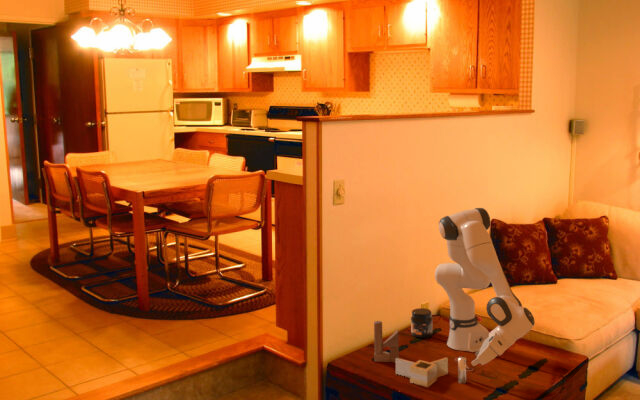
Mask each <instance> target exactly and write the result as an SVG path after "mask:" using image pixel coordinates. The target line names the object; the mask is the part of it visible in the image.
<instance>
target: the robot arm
mask: <svg viewBox="0 0 640 400" xmlns="http://www.w3.org/2000/svg"><path fill="white" fill-rule="evenodd" d="M489 214H490V213H488V211H487V210H486V209H485V208H484V207H475V208H473V209H467V210H466V209H465V210H461V211H459V212H455V213H452V214H451V215H445V216H444V217H442V218H440V220H439V221H438V230H439V231H438V232H439V233H440V235H441V237H442V238H443V239H444V240H446V247H447V248H446V249H447V255H448V257H449V258H450V260H452V262H446V263H445V262H443V263H440V264H438V265H437V267H436V268H435V270H434V279H435V281H436V283H437V284H439V286H441V288H443V290H444V291H445V292H446V295H447V296H448V300H449V310H450V315H449V319H448V320H449V323H448V324H449V334H448V338H447V341H446V345H447V346H448V348H450V349H453V350H456V351H461V352H462V351H464V352H470V353H475V356H476V357H475V359H473V360H472V361H471V363H470V364H471V365H472V366H473V367H475V366H477V365H478V364H480V365H481V366H483V365H486V364H488V363H489V362H491V361H492V360H493V359H495V358H496V357H498V356H501V355H503V354H504V353H505V351H506V350H508V349H509V348H510V347H511V346H513V344H515V343H516V341H518V340H519V339H521V338H523V337H524V336H525V335H527V334H528V333H529V332H530V331H531V330H532V329H533V327H534V326H535V322H536V321H535V317H534V315H533V313H532V312H531V310H529V309H528V308H527V307H524V306H523V304H522V302H521V301H520V299H519V298H518V297H517V296H516V295H515V294H514V292H513V291H512V289H511V287H510V283H509V282H508V278H507V276H506V274H505V272H504V269H503V267H502V265H501V263H500V261H499V258H498V255H497V252H496V249H495V247H494V244H493V240H492V238H491V236H490V234H489V232H488V230H489V229H490V227H491V216H490V215H489ZM490 284H491V286H492V288H493V290H494V293H495V296H496V297H495V296H494V297H491V298H490V299H489V300H488V301H487V303H486V309H485V310H486V313H487V315H488V316H489V318H490V319H491V320H493V322H494V323H496V324H497V326H496V327H495V328H494V329H492V330H491V331H489V330H488V329H487V328H486V327H485V326H483V325H482V324H480V323H481V322H482V321H483V318H482V317H481V316H477V315H475V310H476V309H475V308H476V307H475V306H476V305H475V304H476V302H475V300H474V298H473V297H472V296H471V295H469V294H468V293H466V292H465V291H464V290H463V289H469V290H484V289H487V288H488V287H489V285H490Z"/></svg>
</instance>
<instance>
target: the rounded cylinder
mask: <svg viewBox="0 0 640 400" xmlns="http://www.w3.org/2000/svg"><path fill="white" fill-rule="evenodd" d="M457 358H458V360H457V382H458V383H459V384H466V383H467V371H466V370H467V369H466V364H467V358H466V357H464V356H461V357H460V356H458V357H457Z"/></svg>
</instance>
